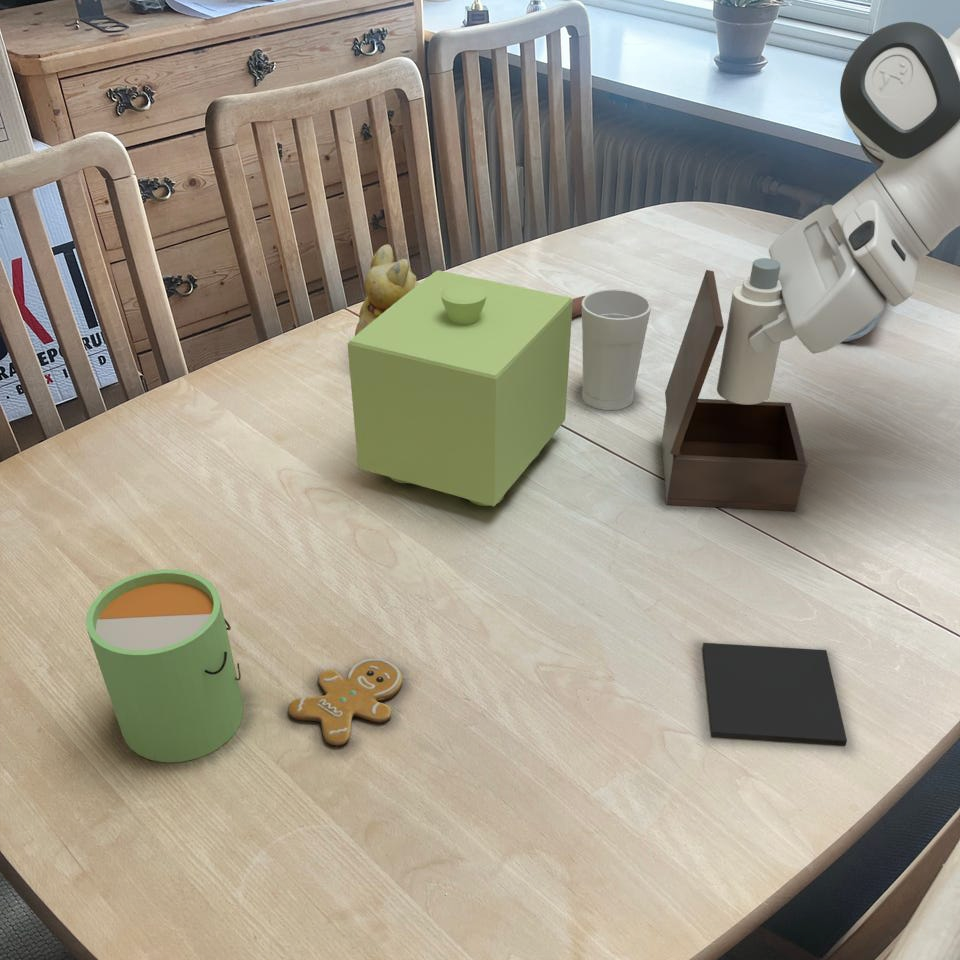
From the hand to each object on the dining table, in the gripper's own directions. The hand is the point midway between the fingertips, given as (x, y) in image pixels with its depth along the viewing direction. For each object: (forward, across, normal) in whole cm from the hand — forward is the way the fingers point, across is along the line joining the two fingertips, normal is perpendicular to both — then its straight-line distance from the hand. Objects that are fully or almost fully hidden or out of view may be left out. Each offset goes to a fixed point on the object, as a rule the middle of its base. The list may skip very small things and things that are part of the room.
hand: (748, 329), depth 104 cm
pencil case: (-3, -43, +28) cm, 51 cm away
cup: (+21, -17, +4) cm, 27 cm away
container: (+32, -1, -8) cm, 33 cm away
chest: (+12, -1, +13) cm, 17 cm away
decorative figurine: (+41, -22, -16) cm, 49 cm away
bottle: (+4, 0, +5) cm, 7 cm away
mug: (+47, +39, -22) cm, 65 cm away
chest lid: (+6, -1, 0) cm, 6 cm away
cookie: (+37, +37, -12) cm, 54 cm away
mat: (+12, +33, +14) cm, 38 cm away
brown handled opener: (+29, -34, -4) cm, 45 cm away
